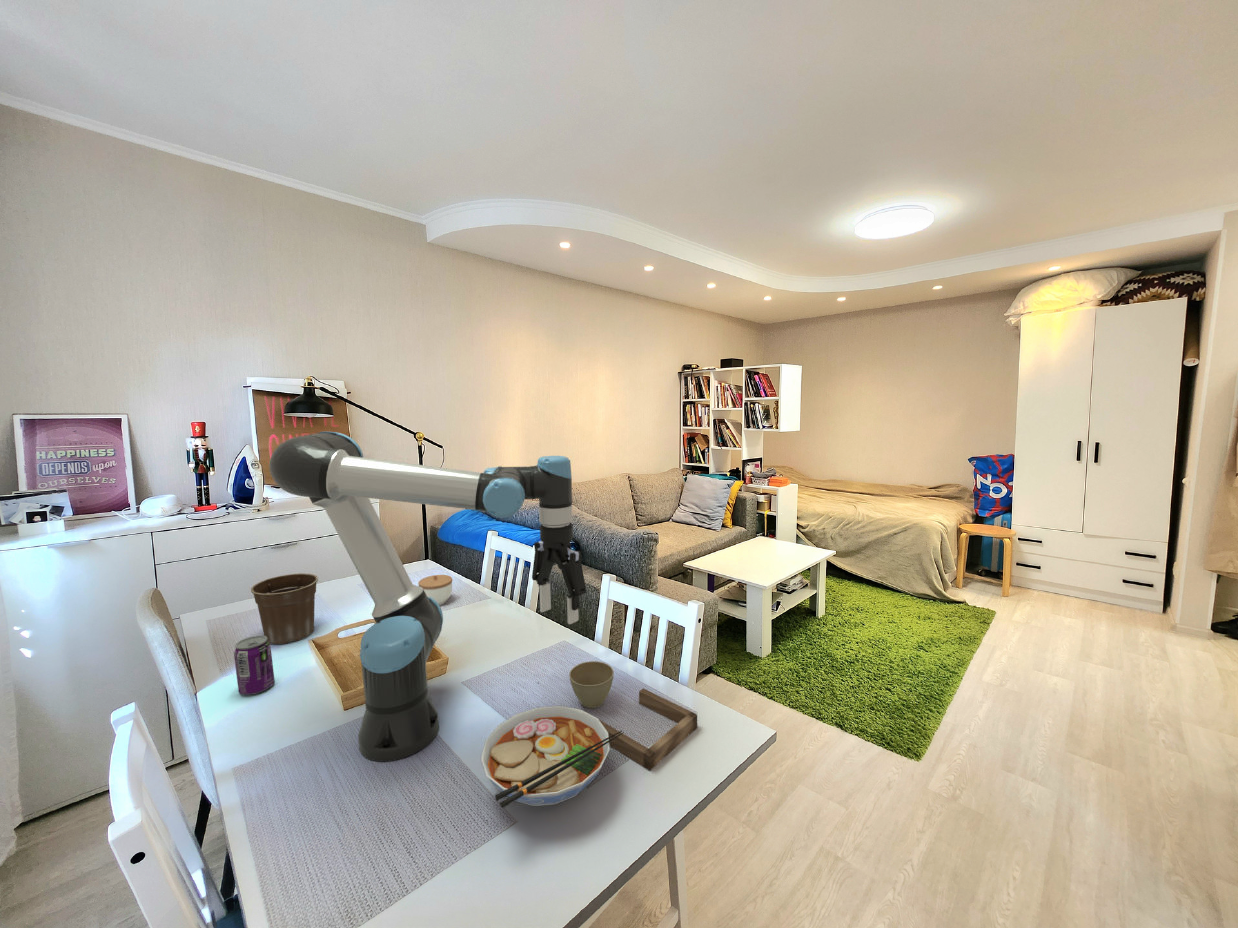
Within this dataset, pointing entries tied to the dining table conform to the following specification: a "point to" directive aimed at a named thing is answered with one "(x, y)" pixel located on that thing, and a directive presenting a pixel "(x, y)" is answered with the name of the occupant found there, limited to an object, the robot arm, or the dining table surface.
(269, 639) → the plant pot
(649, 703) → the walnut bay
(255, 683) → the beverage can
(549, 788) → the ramen bowl
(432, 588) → the lidded jar
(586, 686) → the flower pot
